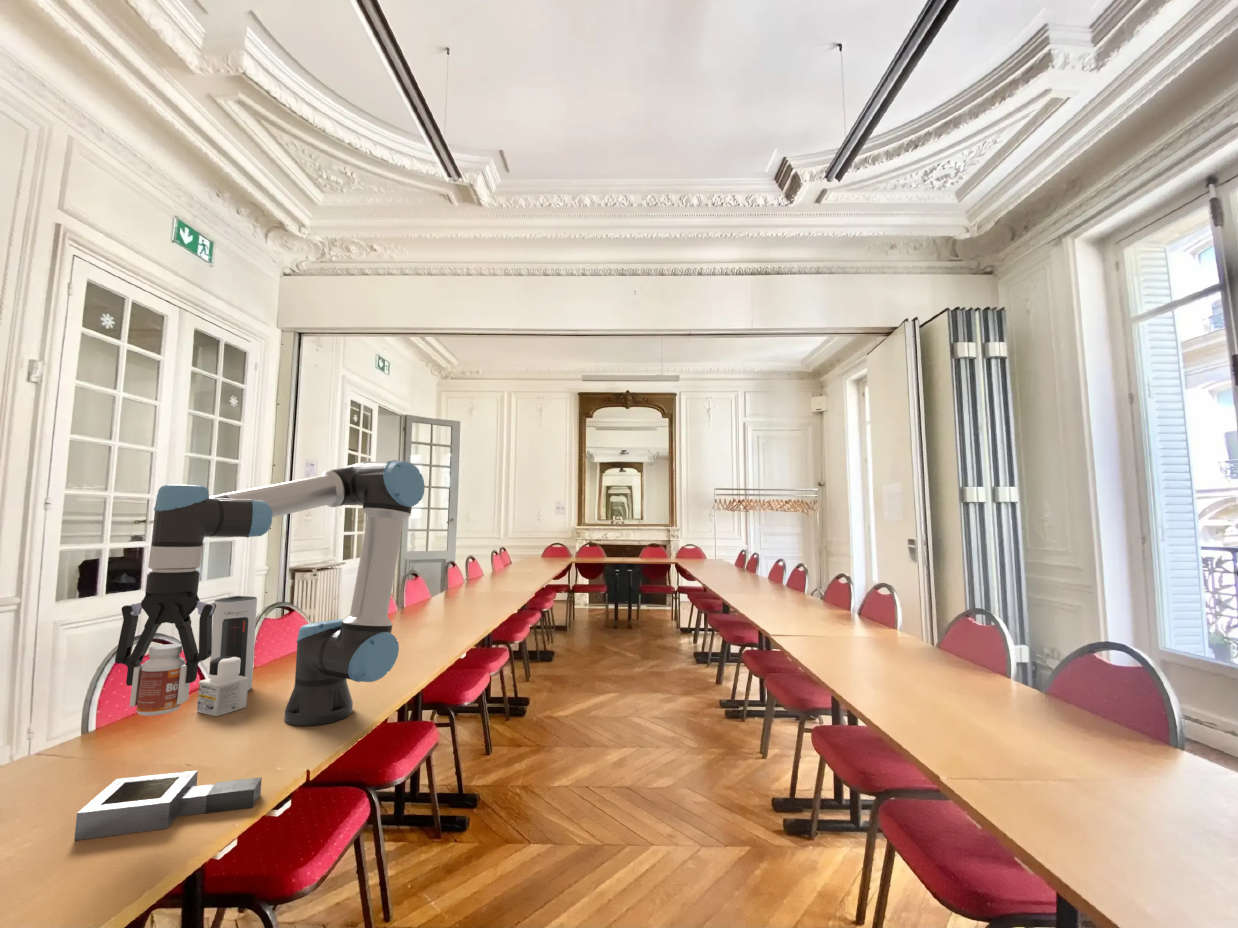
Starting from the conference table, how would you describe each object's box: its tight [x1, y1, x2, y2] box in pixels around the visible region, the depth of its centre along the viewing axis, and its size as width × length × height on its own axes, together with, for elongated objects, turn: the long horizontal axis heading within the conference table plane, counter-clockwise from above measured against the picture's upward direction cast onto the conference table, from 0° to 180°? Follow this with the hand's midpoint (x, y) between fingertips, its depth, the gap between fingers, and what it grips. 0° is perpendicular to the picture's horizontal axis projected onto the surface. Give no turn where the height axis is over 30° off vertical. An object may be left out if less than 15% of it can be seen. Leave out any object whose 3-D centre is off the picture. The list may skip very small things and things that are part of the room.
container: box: [196, 656, 248, 717], centre depth 147 cm, size 8×8×13 cm
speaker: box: [208, 595, 258, 692], centre depth 163 cm, size 11×10×26 cm
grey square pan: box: [73, 770, 262, 841], centre depth 98 cm, size 23×12×4 cm, turn 109°
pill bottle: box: [136, 643, 186, 717], centre depth 102 cm, size 6×6×11 cm
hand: (159, 702), depth 101 cm, fingers closed on pill bottle, 6 cm apart
